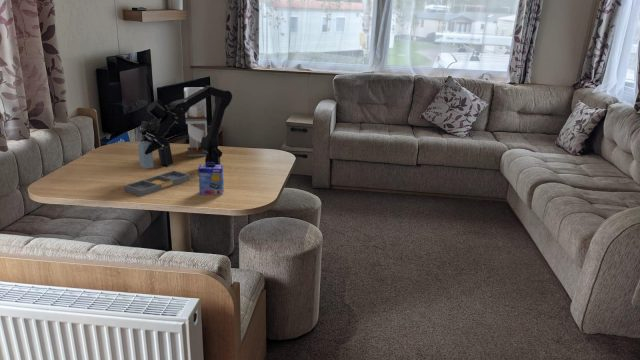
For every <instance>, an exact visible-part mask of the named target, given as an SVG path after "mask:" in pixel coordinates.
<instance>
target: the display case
mask: <svg viewBox="0 0 640 360" xmlns="http://www.w3.org/2000/svg"><path fill="white" fill-rule="evenodd" d="M202 88H203V87H184V88H183V95H184V96H183V97H184V98H183V99H185V98H187V97H188V96H190V95H192V94H194V93H195V92H197V91H199V90H201V89H202ZM206 99H207V98H205V99H203V100H202V101H200V102H198V103H196V104H195V105H193V106H191V107H190V109H189V110H188V111H187V112H186V113H185V114H184V117H185V124H186V125H187V133H188V141H189V142H188V143H189V146H188V147H187V150H186V151H187V152H186V153H187V157H206V154H204V151H202V149H201V145H200V143H201V141H202V137H206V136H207V134H208V122H207V100H206Z"/></svg>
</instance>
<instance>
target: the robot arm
mask: <svg viewBox="0 0 640 360" xmlns="http://www.w3.org/2000/svg"><path fill="white" fill-rule="evenodd" d="M201 88H202V89H201V90H199V91H197V92H195V93H194V94H192V95H190V96H188V97H187V98H185V99H184V98H181V99H177V100H174V101H171V102H169V104H167V105H166V104H165V105H164V104H163V103H162V102H161V101H160V100H159V99H155V101H152V102H151V103H149V105H148V106H147V108H146V111H147V113H149V114H150V115H151V116H152V117H154V119H156V120H159V121H158V122H153V121H150V122H148V121H144V120H142V122H141V124H140V130H139V133H140V135H141V136H142V141H141V142H143V141H148V142H150V145H149V146H148V148H147V150H146V151H145V154H146V155H147V154H149V153H151V152H152V153H153V152H155V151H158V149H159V148H162V147H163V146H164V147H166V148H167V147H168V146H169V145H170V146H171V144H170V140H168V139H167V138H166V137H165V136H166V134H169V133H170V129H171V128H172V126H173V125H175V124H177V125H178V124H181V122H180V117H182V116H185V113H186V112H187V111H188V110H189V109H190V107H191V106H193V105H195V104H196V103H198V102H200V101H202V100H203V99H205V98H206V99H207V98H209V97H210V96H212V97H214V106H215V107H214V110H213V114H212V118H211V121H210V125H209V128H208V130H207V136H206V137H202V141H201V143H200V145H201V149H202V151H204V154H206V156H205V158H204V162H205V163H204V165H206V162H214V163H215V165H221V157H222V156H223V151H221V150H220V149H219V140H218V139H219V138H218V137H219V133H220V129H221V127H222V126H221V125H222V123H223V118H224V115H225V110H226V109H227V108H228V106H230V104H231V102H232V101H233V94H232V92H231V91H230V90H227V89H223V88H219V89H218V88H215V87H214V86H211V85H205V86H204V87H201ZM209 164H211V163H209Z"/></svg>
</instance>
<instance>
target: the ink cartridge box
mask: <svg viewBox="0 0 640 360" xmlns="http://www.w3.org/2000/svg"><path fill="white" fill-rule="evenodd" d="M209 163H211V164H209ZM198 183H199V184H198V187H199V188H198V189H199V196H200V195H201V196H223V194H224V192H225V188H224V187H225V186H224V185H225V183H224V165H223V164H220V165H215V163H214V162H206V165H205V164H200V165H199V167H198Z"/></svg>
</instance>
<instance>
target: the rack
mask: <svg viewBox="0 0 640 360" xmlns="http://www.w3.org/2000/svg"><path fill="white" fill-rule="evenodd" d="M190 180H191V174H189V173H185V172H182V171H179V170H171V171H168V172H164V173H160V174H157V175H154V176H151V177H148V178H144V179H141V180H138V181H134V182H131V183H129V184H125V185H124V190H125V192H127V193H130V194H133V195H136V196H140V197H143V196H147V195H149V194H152V193H155V192H158V191H162V190H164V189H167V188H170V187H173V186H176V185H178V184H182V183H185V182H188V181H190Z"/></svg>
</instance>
